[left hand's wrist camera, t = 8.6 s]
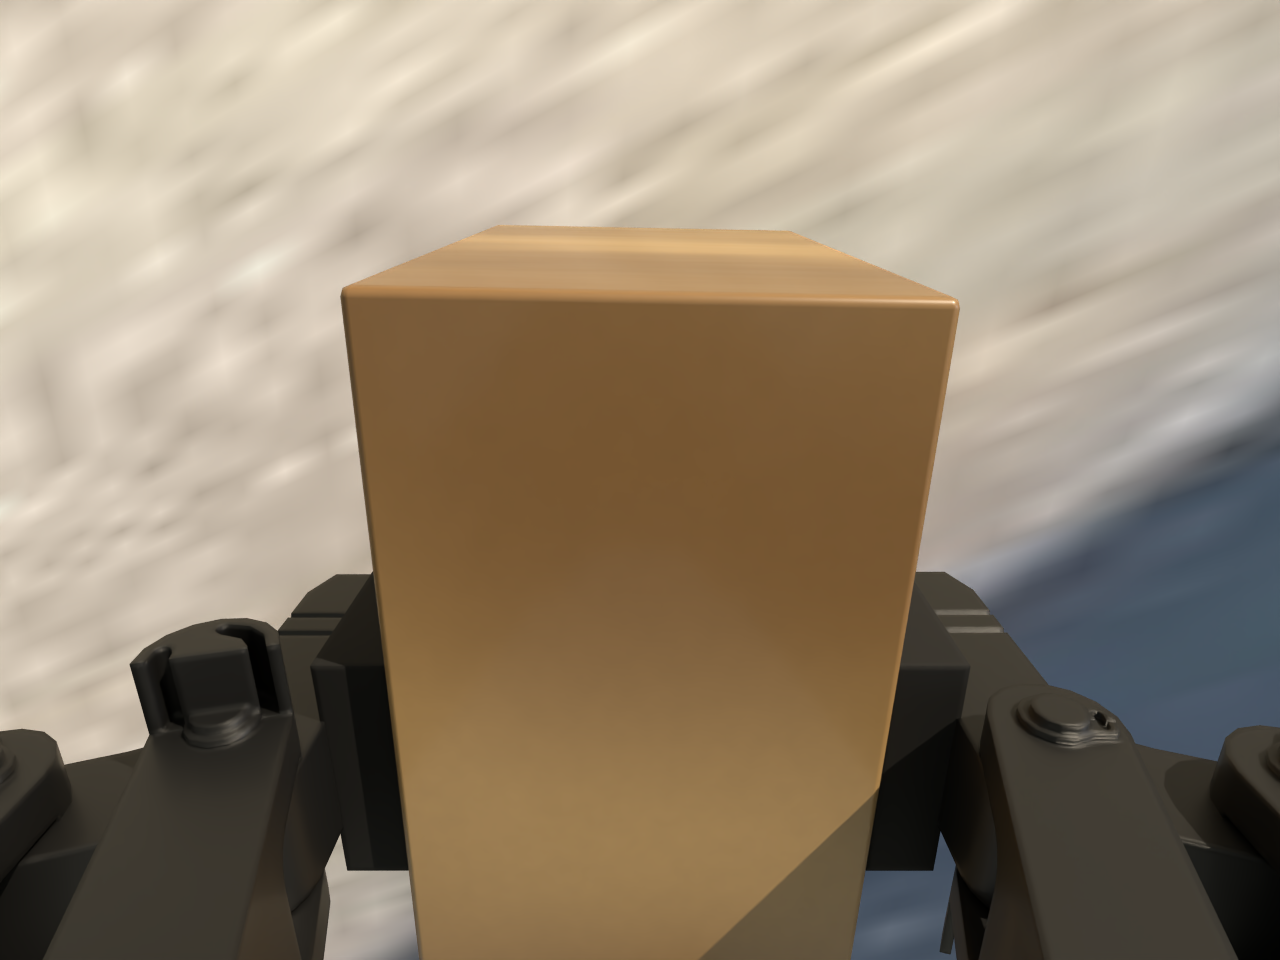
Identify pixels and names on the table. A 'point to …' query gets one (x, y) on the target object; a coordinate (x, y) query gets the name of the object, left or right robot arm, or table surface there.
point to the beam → (642, 579)
